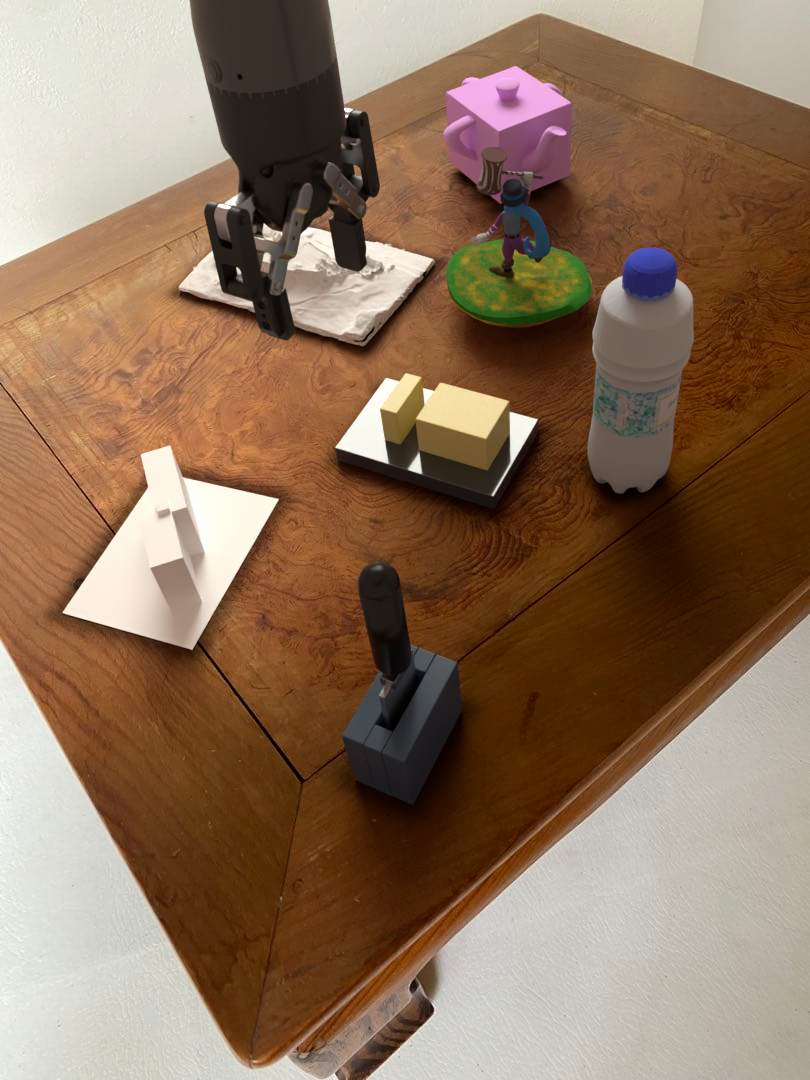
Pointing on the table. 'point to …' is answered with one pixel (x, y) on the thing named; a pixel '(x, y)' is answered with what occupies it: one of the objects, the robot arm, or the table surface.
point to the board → (426, 469)
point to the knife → (388, 638)
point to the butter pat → (402, 408)
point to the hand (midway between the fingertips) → (317, 299)
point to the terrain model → (329, 285)
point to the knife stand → (405, 730)
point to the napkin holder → (172, 555)
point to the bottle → (639, 370)
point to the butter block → (463, 425)
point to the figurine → (515, 261)
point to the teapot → (510, 126)
